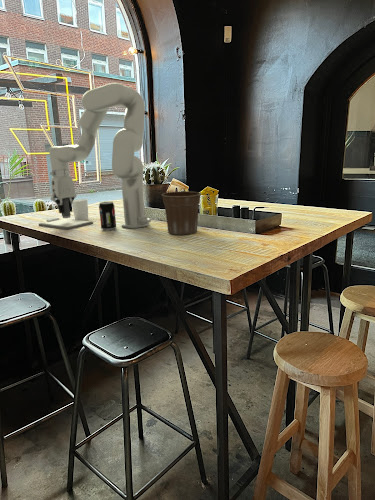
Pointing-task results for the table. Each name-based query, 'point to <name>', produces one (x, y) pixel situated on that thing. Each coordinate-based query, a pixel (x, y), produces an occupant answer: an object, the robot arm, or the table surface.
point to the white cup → (80, 209)
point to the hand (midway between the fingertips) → (65, 212)
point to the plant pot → (181, 211)
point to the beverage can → (107, 215)
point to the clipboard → (65, 223)
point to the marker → (66, 208)
